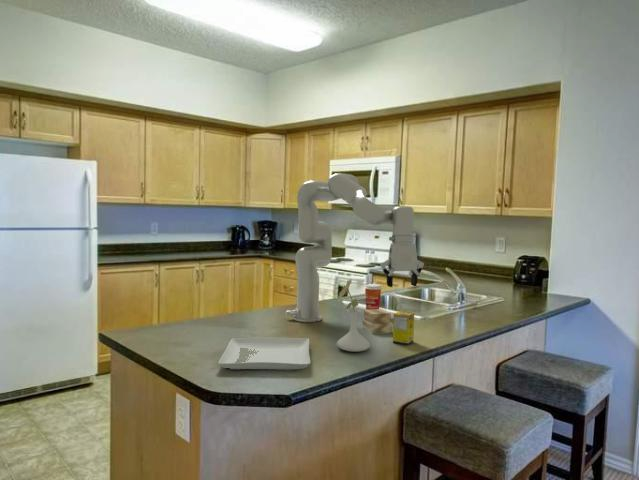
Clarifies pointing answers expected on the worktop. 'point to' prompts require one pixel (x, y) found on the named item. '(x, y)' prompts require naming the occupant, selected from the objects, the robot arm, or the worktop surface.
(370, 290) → the paper cup
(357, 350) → the flower in vase
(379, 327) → the birch base block
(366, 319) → the maple top block
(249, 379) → the worktop surface
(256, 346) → the square plate
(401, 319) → the supplement box
